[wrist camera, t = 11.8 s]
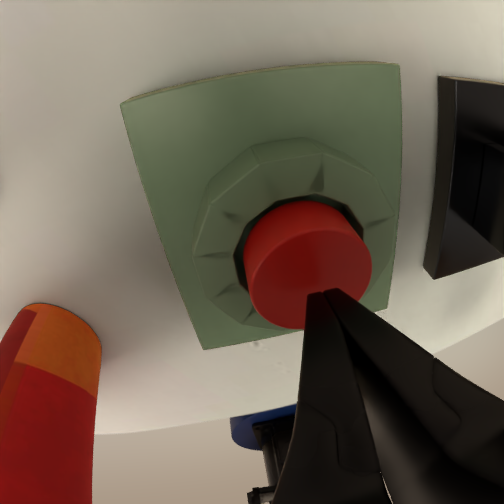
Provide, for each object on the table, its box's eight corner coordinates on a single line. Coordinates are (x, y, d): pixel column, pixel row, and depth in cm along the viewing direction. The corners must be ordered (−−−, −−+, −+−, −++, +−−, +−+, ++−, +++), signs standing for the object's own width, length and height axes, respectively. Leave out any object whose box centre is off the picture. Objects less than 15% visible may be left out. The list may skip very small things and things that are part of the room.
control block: (373, 287, 16) (403, 335, 13) (202, 324, 16) (204, 382, 13) (376, 61, 10) (432, 69, 7) (131, 97, 10) (100, 113, 7)
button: (350, 281, 11) (368, 314, 10) (252, 303, 11) (259, 341, 10) (351, 189, 9) (377, 216, 8) (232, 211, 9) (238, 244, 8)
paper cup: (27, 371, 17) (-9, 559, 5) (-17, 283, 13) (-107, 519, 1) (132, 383, 18) (128, 601, 7) (108, 290, 14) (66, 616, 2)
